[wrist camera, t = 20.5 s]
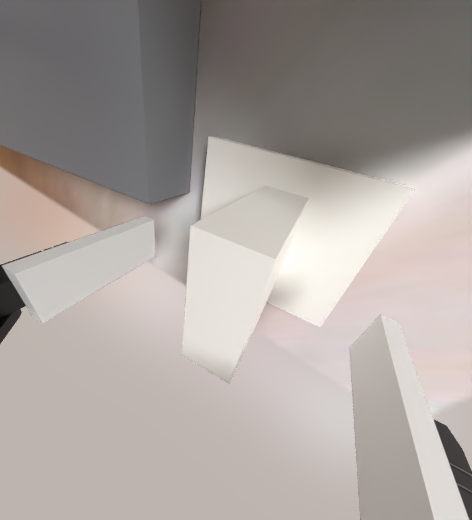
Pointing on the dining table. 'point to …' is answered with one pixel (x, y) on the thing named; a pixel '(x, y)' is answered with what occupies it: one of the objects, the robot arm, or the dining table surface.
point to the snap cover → (275, 244)
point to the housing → (102, 89)
